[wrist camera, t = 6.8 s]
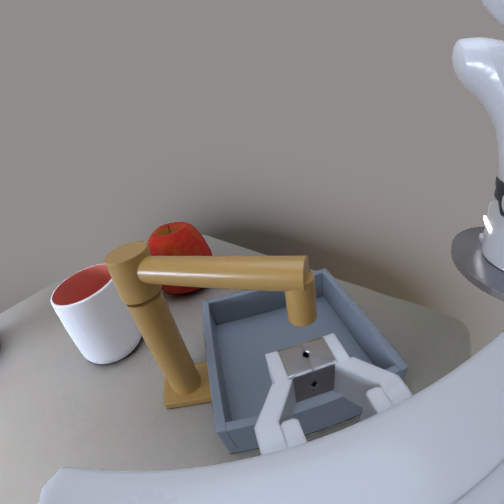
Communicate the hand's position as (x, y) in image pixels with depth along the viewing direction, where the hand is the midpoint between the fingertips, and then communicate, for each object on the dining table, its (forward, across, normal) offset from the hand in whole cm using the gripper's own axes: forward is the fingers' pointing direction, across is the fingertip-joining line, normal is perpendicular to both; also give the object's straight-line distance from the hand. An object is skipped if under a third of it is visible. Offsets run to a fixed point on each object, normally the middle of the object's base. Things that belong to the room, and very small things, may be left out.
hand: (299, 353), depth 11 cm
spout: (+8, +4, +3) cm, 10 cm away
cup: (+21, +20, +14) cm, 33 cm away
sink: (+11, -2, +14) cm, 18 cm away
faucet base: (+11, +9, +14) cm, 20 cm away
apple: (+33, +9, +14) cm, 37 cm away
